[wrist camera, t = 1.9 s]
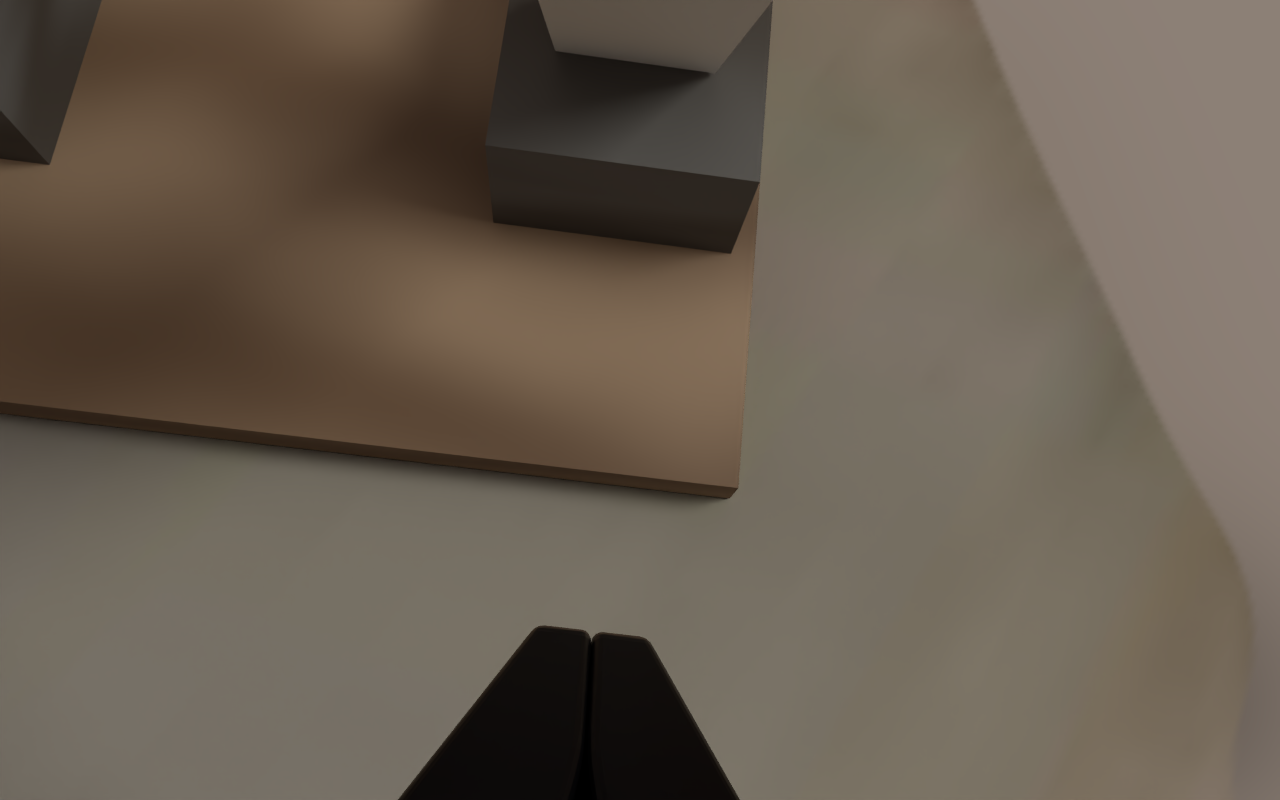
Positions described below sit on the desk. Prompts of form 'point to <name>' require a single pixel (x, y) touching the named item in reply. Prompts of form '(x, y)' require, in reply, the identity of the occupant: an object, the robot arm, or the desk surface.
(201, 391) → the switch board
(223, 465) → the desk surface
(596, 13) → the lever
